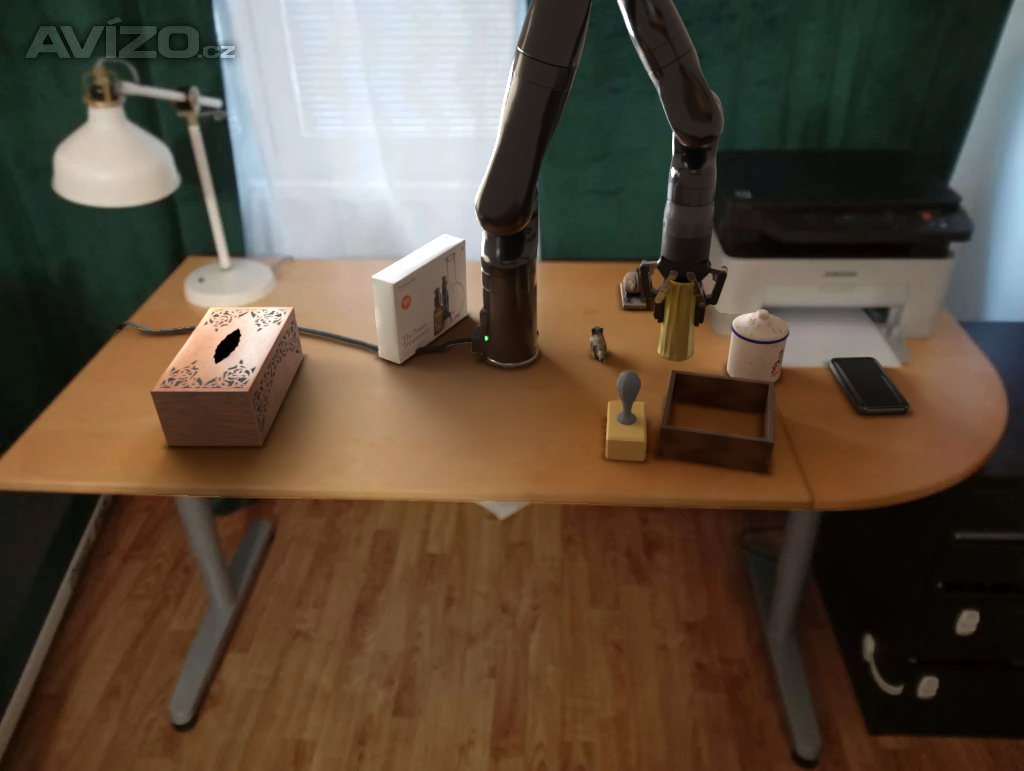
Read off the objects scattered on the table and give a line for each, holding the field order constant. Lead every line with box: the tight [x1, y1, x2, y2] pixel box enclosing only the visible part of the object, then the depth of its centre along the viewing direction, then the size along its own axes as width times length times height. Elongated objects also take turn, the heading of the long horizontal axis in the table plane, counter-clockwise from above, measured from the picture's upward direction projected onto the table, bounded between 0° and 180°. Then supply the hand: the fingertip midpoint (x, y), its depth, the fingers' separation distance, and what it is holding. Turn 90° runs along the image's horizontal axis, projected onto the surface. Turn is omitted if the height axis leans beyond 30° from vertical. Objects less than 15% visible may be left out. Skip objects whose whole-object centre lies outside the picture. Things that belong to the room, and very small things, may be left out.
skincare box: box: [370, 233, 468, 365], centre depth 146 cm, size 21×5×16 cm, turn 148°
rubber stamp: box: [604, 369, 648, 462], centre depth 120 cm, size 10×6×12 cm, turn 173°
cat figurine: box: [589, 325, 608, 363], centre depth 142 cm, size 3×8×4 cm, turn 4°
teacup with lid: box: [726, 308, 790, 383], centre depth 135 cm, size 12×9×12 cm
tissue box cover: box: [149, 306, 304, 447], centre depth 132 cm, size 26×14×10 cm, turn 178°
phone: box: [829, 356, 910, 416], centre depth 132 cm, size 8×1×15 cm
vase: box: [656, 280, 700, 362], centre depth 135 cm, size 6×6×14 cm
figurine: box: [619, 267, 647, 310], centre depth 157 cm, size 14×4×9 cm, turn 177°
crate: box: [656, 369, 776, 474], centre depth 122 cm, size 16×16×6 cm
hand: (678, 322), depth 135 cm, fingers closed on vase, 5 cm apart
